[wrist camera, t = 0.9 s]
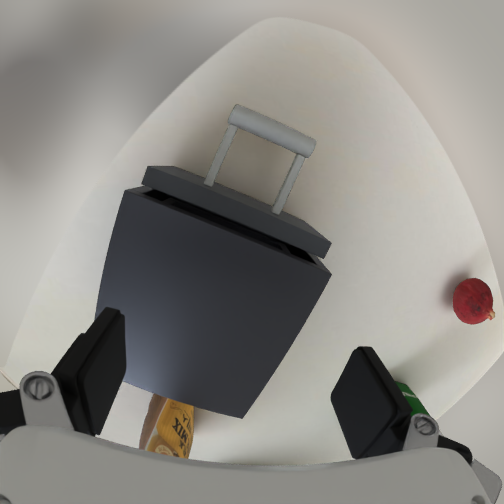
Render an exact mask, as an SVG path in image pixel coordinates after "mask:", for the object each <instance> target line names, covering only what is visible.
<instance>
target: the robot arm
mask: <svg viewBox="0 0 504 504" xmlns="http://www.w3.org/2000/svg"><path fill="white" fill-rule="evenodd" d="M126 368H127V363H126V344H125V316H124V315H123V314H121V311H120V310H118V309H115V308H111V307H105V308H104V310H103V311H102V312H101V313H100V315H99V316H98V317H97V319H96V320H95V321H94V322H93V324H92V325H91V326H90V328H89V329H88V330H87V331H86V333H85V334H84V333H81V334H80V335H79V336H78V337H77V339H76V340H75V341H74V343H73V344H72V345H71V347H70V348H69V349H68V351H67V352H66V353H65V355H64V356H63V357H62V359H61V360H60V361H59V363H58V364H57V366H56V367H55V368H54V370H53V371H52V373H51V374H49V373H47V372H43V371H34V372H31V373H29V374H27V375H25V376H24V377H23V378H22V380H21V382H20V389H17V390H12V391H7V392H2V393H0V504H495V503H496V500H497V498H498V495H499V493H500V490H501V488H502V481H501V479H500V477H499V476H498V475H497V474H495V473H494V472H492V471H491V470H489V469H488V468H486V467H485V466H484V465H482V464H481V463H479V462H478V461H477V460H475V459H474V460H473V461H472V453H471V452H470V450H469V448H468V447H466V446H464V445H462V444H460V443H458V442H455V441H453V440H450V439H448V438H446V437H444V436H441V435H439V426H438V424H437V422H436V421H435V420H434V419H433V418H432V417H431V416H429V415H427V414H423V413H418V414H415V415H414V416H411V415H410V414H411V412H412V411H413V408H412V407H411V405H410V404H409V402H408V401H407V399H406V398H405V396H404V394H403V393H402V391H401V390H400V388H399V387H398V385H397V384H396V382H395V381H394V379H393V378H392V376H391V375H390V373H389V372H388V370H387V369H386V367H385V366H384V364H383V363H382V361H381V360H380V358H379V357H378V355H377V354H376V352H375V351H374V350H373V348H372V347H363V346H359V347H358V348H357V349H355V350H354V351H353V352H352V354H351V356H350V358H349V360H348V362H347V364H346V366H345V368H344V370H343V372H342V374H341V376H340V378H339V380H338V382H337V384H336V386H335V388H334V389H333V391H332V393H331V402H332V405H333V407H334V410H335V413H336V415H337V418H338V421H339V423H340V426H341V429H342V431H343V434H344V437H345V439H346V442H347V445H348V447H349V450H350V453H351V455H352V457H353V458H354V459H356V460H349V461H341V462H333V463H322V464H309V465H284V466H265V465H240V464H226V463H216V462H207V461H199V460H192V459H186V458H180V457H174V456H169V455H164V454H159V453H154V452H150V451H145V450H141V449H137V448H133V447H129V446H125V445H122V444H118V443H115V442H111V441H108V440H105V439H101V438H97V437H95V435H96V434H97V435H100V434H101V431H102V429H103V426H104V424H105V421H106V419H107V416H108V414H109V411H110V409H111V406H112V404H113V402H114V399H115V397H116V394H117V392H118V390H119V387H120V385H121V383H122V380H123V378H124V376H125V373H126Z"/></svg>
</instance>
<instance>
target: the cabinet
mask: <svg viewBox="0 0 504 504" xmlns="http://www.w3.org/2000/svg"><path fill="white" fill-rule="evenodd" d="M168 198H173V199H175V200H178V201H180V202H183V203H185V204H188V205H190V206H193V207H195V208H198V209H200V210H203V211H205V212H208V213H210V214H213V215H215V216H218V217H220V218H222V219H225V220H227V221H230V222H232V223H235V224H237V225H239V226H242V227H244V228H247V229H249V230H252V231H254V232H256V233H259V234H261V235H264V236H266V237H268V238H271V239H273V240H276V241H278V242H280V243H283V244H285V245H286V247H287V248H288V250H289V251H290V253H291V254H290V253H288V252H285V251H283V250H280V249H278V248H276V247H273V246H271V245H268V244H266V243H264V242H261V241H259V240H256V239H254V238H251V237H249V236H247V235H244V234H242V233H239V232H237V231H234V230H232V229H229V228H227V227H225V226H222V225H220V224H217V223H215V222H212V221H210V220H207V219H205V218H202V217H200V216H197V215H195V214H192V213H190V212H187V211H185V210H182V209H180V208H177V207H175V206H172V205H170V204H167V203H165V202H162V201H164V200H166V199H168ZM331 275H332V274H331V273H330V271H329V270H328V269H327V268H326V267H325V266H324V265H323V263H322V262H321V261H320V260H319V259H318V258H317V257H316V256H315V255H313V254H311V253H309V252H306V251H304V250H302V249H299V248H297V247H295V246H292V245H290V244H288V243H285V242H283V241H281V240H278V239H276V238H273V237H271V236H269V235H266V234H264V233H262V232H259V231H257V230H254V229H252V228H250V227H247V226H245V225H242V224H240V223H238V222H235V221H233V220H230V219H228V218H225V217H223V216H220V215H218V214H216V213H213V212H211V211H208V210H206V209H203V208H201V207H198V206H196V205H193V204H191V203H188V202H186V201H183V200H181V199H178V198H176V197H173V196H171V195H168V194H166V193H163V192H160V191H158V190H155V189H153V188H150V187H148V186H141V187H137V188H133V189H128V190H125V191H124V194H123V198H122V201H121V204H120V207H119V211H118V214H117V217H116V221H115V225H114V228H113V232H112V236H111V240H110V244H109V248H108V252H107V256H106V260H105V265H104V269H103V274H102V279H101V284H100V289H99V295H98V301H97V307H96V313H95V320H96V319H97V317H98V316H99V315H100V313H101V312H102V311H103V310H104V308H105V307H111V308H115V309H118V310H120V311H121V314H123V315H124V316H125V344H126V363H127V368H126V373H125V376H124V378H123V380H122V381H124V382H126V383H129V384H131V385H134V386H136V387H139V388H141V389H144V390H147V391H149V392H152V393H155V394H157V395H160V396H163V397H166V398H169V399H172V400H175V401H178V402H181V403H184V404H188V405H191V406H194V407H198V408H201V409H205V410H208V411H212V412H216V413H220V414H224V415H228V416H232V417H237V418H241V419H243V417H244V416H245V414H246V413H247V412H248V410H249V409H250V407H251V406H252V405H253V403H254V402H255V400H256V399H257V397H258V396H259V394H260V393H261V392H262V390H263V389H264V387H265V386H266V384H267V383H268V381H269V380H270V378H271V377H272V375H273V374H274V372H275V370H276V369H277V367H278V366H279V364H280V363H281V361H282V360H283V358H284V356H285V355H286V353H287V352H288V350H289V348H290V347H291V345H292V344H293V342H294V340H295V339H296V337H297V335H298V334H299V332H300V330H301V329H302V327H303V325H304V324H305V322H306V320H307V318H308V317H309V315H310V313H311V312H312V310H313V308H314V306H315V305H316V303H317V301H318V299H319V297H320V296H321V294H322V292H323V290H324V288H325V287H326V285H327V283H328V281H329V279H330V277H331ZM95 320H94V321H95Z"/></svg>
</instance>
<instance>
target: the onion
mask: <svg viewBox="0 0 504 504" xmlns="http://www.w3.org/2000/svg"><path fill="white" fill-rule="evenodd" d="M492 306H493V297H492V293H491V290H490V288H489V286H488V285H487V284H486V283H485V282H483V281H482V280H480V279H477V278H470V279H466V280H464V281H463V282H461V283H460V284H459V285H458V286H457V287H456V289H455V291H454V295H453V308H454V312H455V313H456V315H457V317H458V318H459V319H460V320H461V321H462V322H464V323H467V324H478V323H481V322H483V321H485V320H486V319H487V318H488V319H489V320H492V319H493V318H494V317H495V312H494V311H493V309H492Z"/></svg>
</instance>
